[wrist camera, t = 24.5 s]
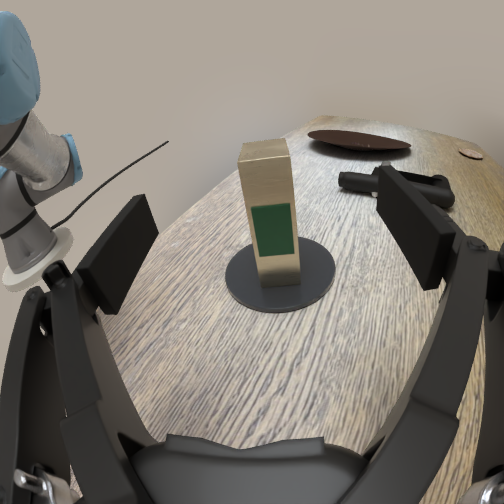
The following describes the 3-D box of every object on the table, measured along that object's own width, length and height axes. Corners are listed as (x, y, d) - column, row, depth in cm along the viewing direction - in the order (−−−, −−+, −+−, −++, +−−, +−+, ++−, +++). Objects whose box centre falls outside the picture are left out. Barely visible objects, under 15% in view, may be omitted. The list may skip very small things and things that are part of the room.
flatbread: (463, 156, 53) (463, 153, 52) (455, 149, 58) (456, 145, 58) (486, 161, 50) (486, 158, 49) (477, 153, 55) (478, 150, 55)
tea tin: (262, 252, 32) (243, 143, 25) (296, 248, 32) (285, 137, 24) (261, 289, 27) (236, 162, 20) (301, 285, 27) (290, 156, 19)
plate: (423, 146, 61) (424, 134, 59) (385, 171, 48) (385, 154, 46) (344, 130, 80) (343, 119, 78) (286, 149, 68) (284, 136, 65)
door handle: (356, 153, 51) (335, 175, 41) (447, 168, 41) (458, 197, 31) (356, 168, 53) (335, 194, 42) (445, 184, 43) (454, 217, 32)
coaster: (232, 244, 36) (231, 241, 35) (325, 235, 34) (325, 231, 34) (219, 316, 26) (218, 312, 26) (345, 306, 24) (345, 301, 24)
